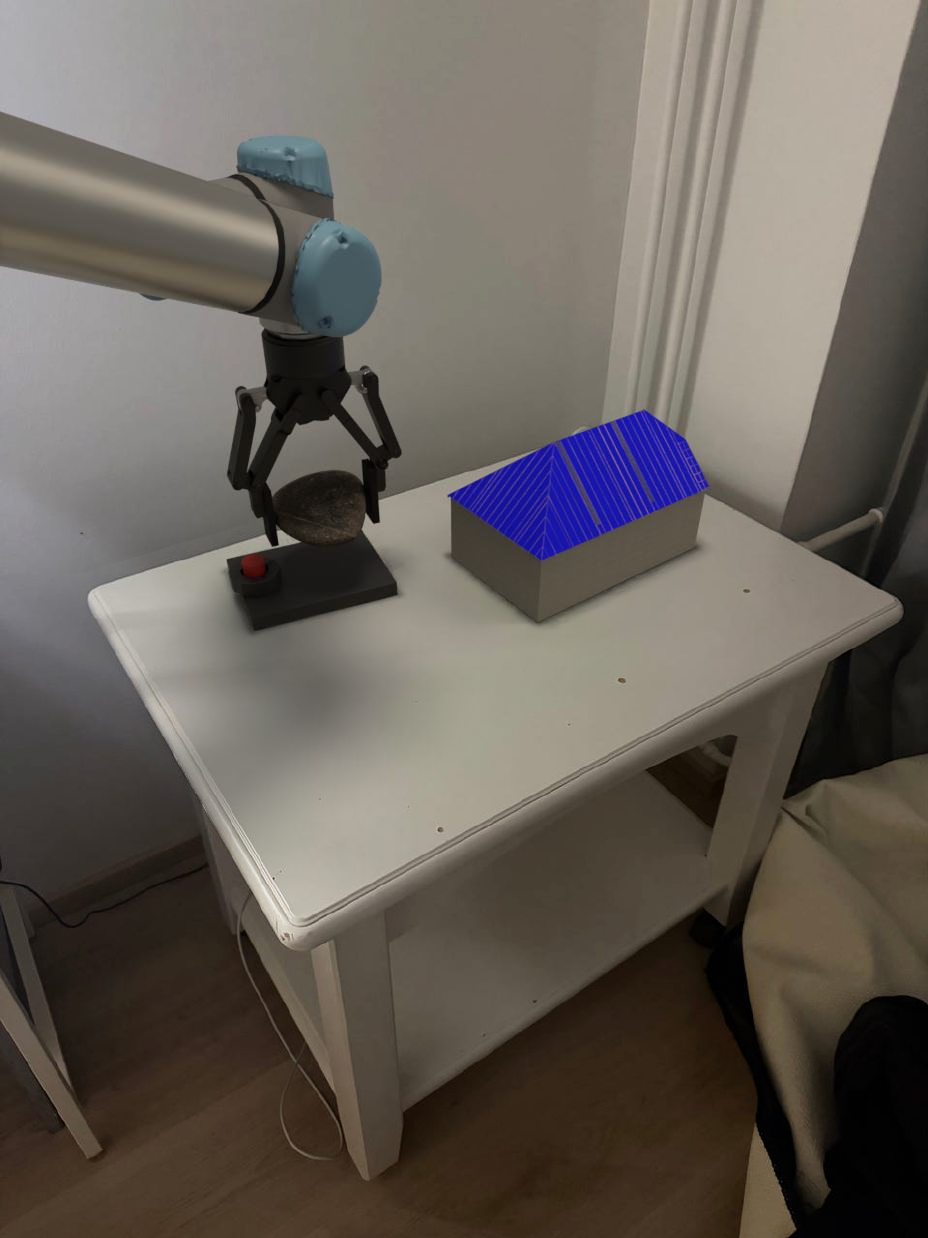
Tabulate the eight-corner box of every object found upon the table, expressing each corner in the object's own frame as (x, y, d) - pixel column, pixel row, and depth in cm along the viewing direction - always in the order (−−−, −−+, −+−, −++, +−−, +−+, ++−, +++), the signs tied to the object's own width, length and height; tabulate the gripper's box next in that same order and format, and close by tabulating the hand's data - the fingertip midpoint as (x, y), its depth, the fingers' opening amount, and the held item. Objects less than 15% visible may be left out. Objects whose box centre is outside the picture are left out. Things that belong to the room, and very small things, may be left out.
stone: (398, 533, 96) (396, 493, 93) (315, 571, 90) (310, 530, 87) (338, 494, 103) (334, 455, 100) (257, 527, 97) (250, 487, 94)
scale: (247, 633, 92) (242, 606, 90) (222, 572, 101) (217, 546, 99) (397, 594, 98) (396, 568, 96) (361, 540, 106) (359, 515, 104)
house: (603, 492, 116) (617, 376, 106) (698, 547, 105) (722, 425, 96) (447, 555, 104) (446, 432, 94) (536, 624, 94) (545, 494, 84)
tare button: (246, 580, 94) (244, 568, 93) (241, 569, 96) (239, 557, 95) (268, 575, 95) (266, 563, 94) (263, 563, 97) (261, 552, 96)
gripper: (182, 358, 76) (224, 571, 90) (431, 321, 84) (435, 522, 97) (167, 330, 81) (208, 534, 95) (402, 297, 89) (409, 491, 103)
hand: (323, 528), depth 96 cm, fingers closed on stone, 10 cm apart
